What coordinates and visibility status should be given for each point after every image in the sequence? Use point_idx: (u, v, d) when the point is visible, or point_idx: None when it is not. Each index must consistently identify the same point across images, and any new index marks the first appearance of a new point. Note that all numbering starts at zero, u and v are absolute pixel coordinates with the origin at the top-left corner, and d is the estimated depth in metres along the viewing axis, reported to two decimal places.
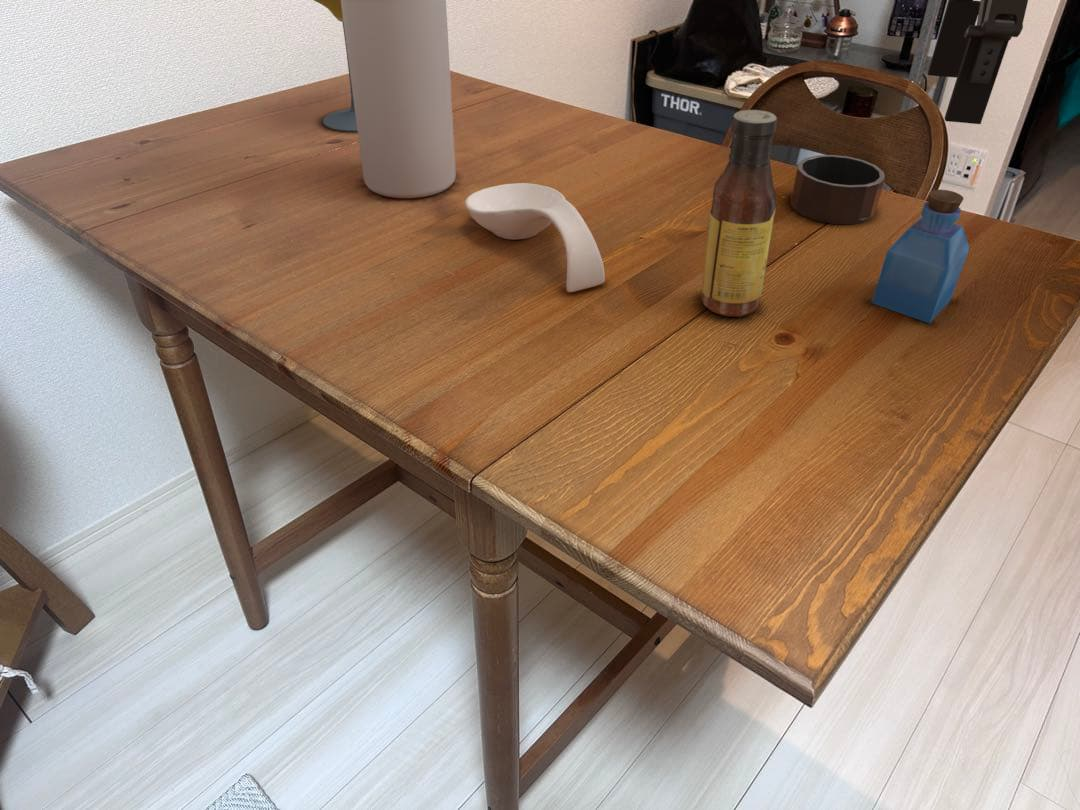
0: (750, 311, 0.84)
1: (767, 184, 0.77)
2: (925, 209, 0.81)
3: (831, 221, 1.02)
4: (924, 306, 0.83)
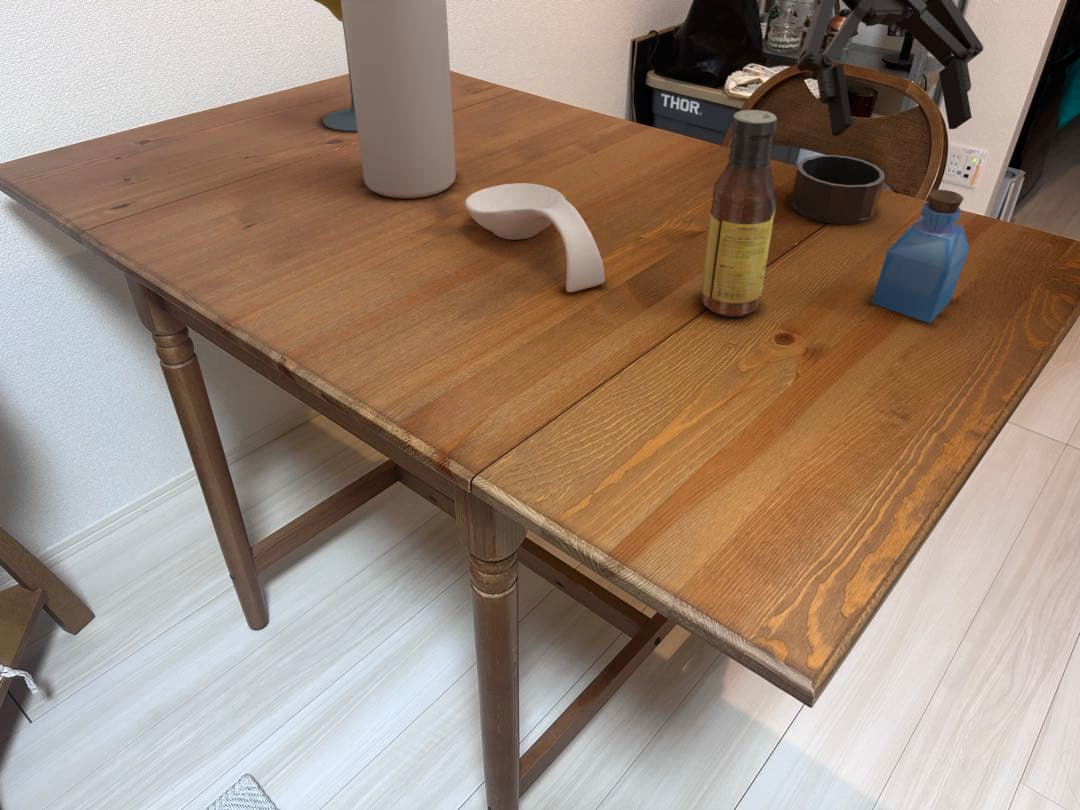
0: (750, 311, 0.84)
1: (767, 184, 0.77)
2: (925, 210, 0.81)
3: (831, 221, 1.02)
4: (924, 306, 0.83)
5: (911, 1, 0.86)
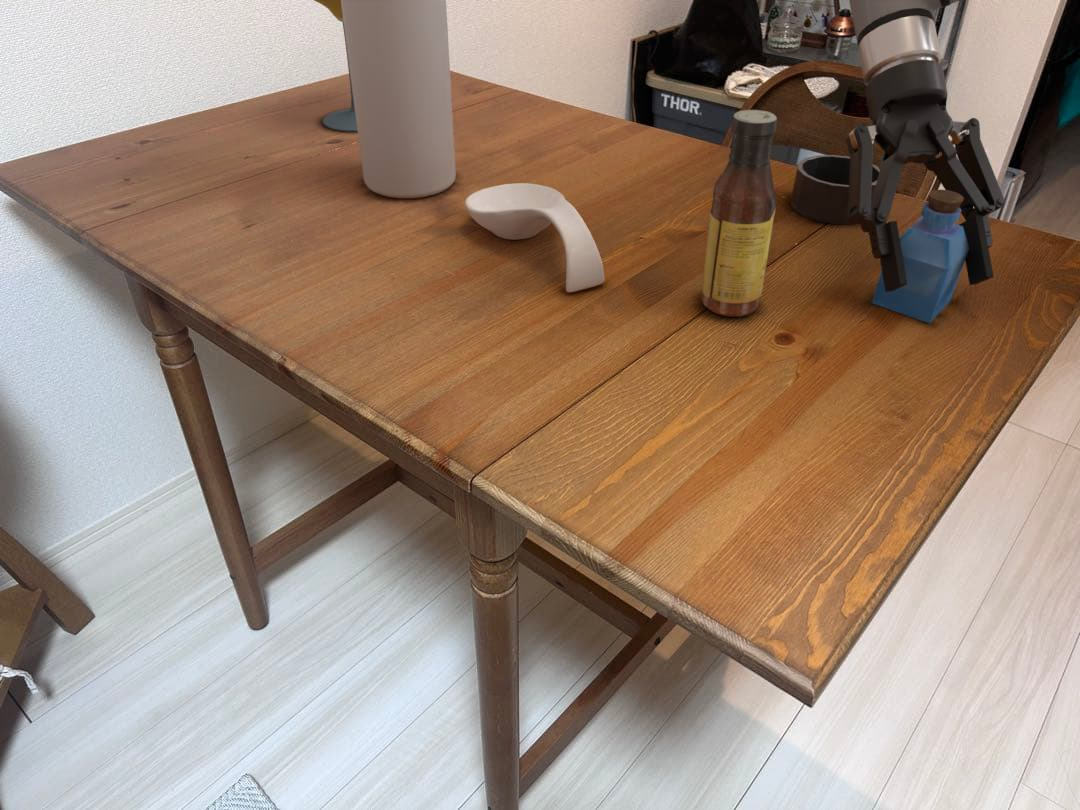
0: (750, 311, 0.84)
1: (767, 184, 0.77)
2: (926, 209, 0.81)
3: (831, 221, 1.02)
4: (924, 306, 0.83)
5: (946, 142, 0.83)
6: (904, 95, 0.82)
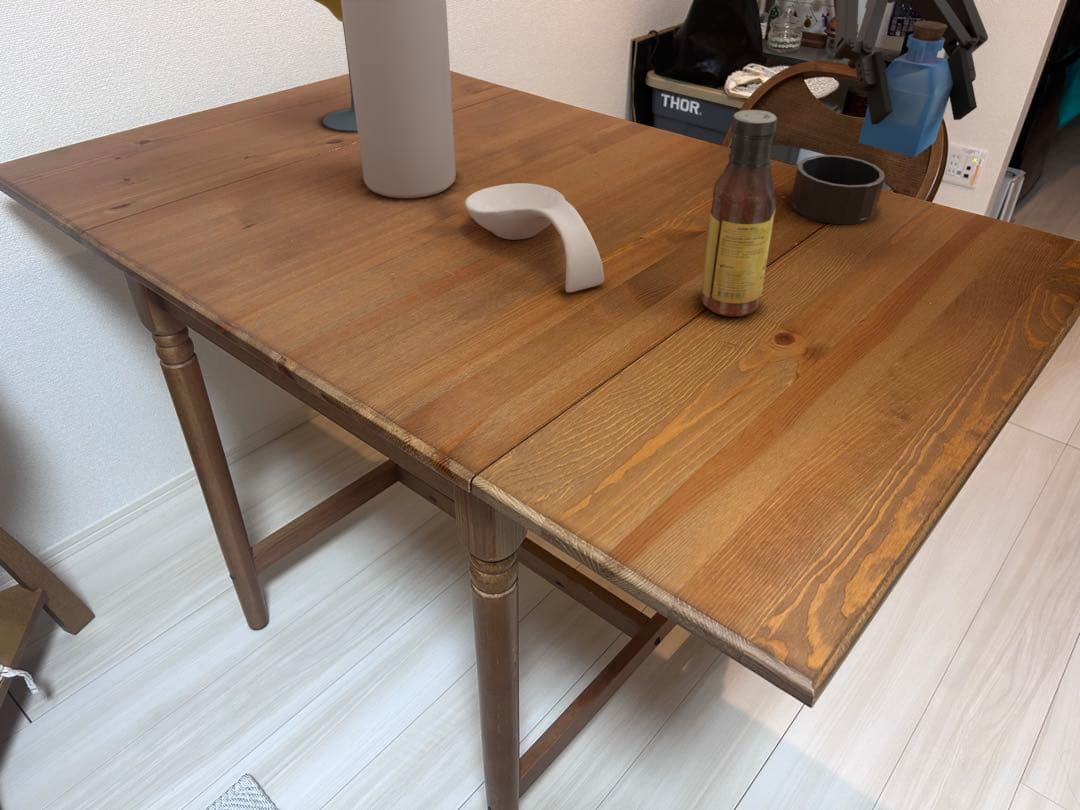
0: (750, 311, 0.84)
1: (767, 184, 0.77)
2: (910, 39, 0.83)
3: (831, 221, 1.02)
4: (909, 139, 0.85)
5: None
6: None
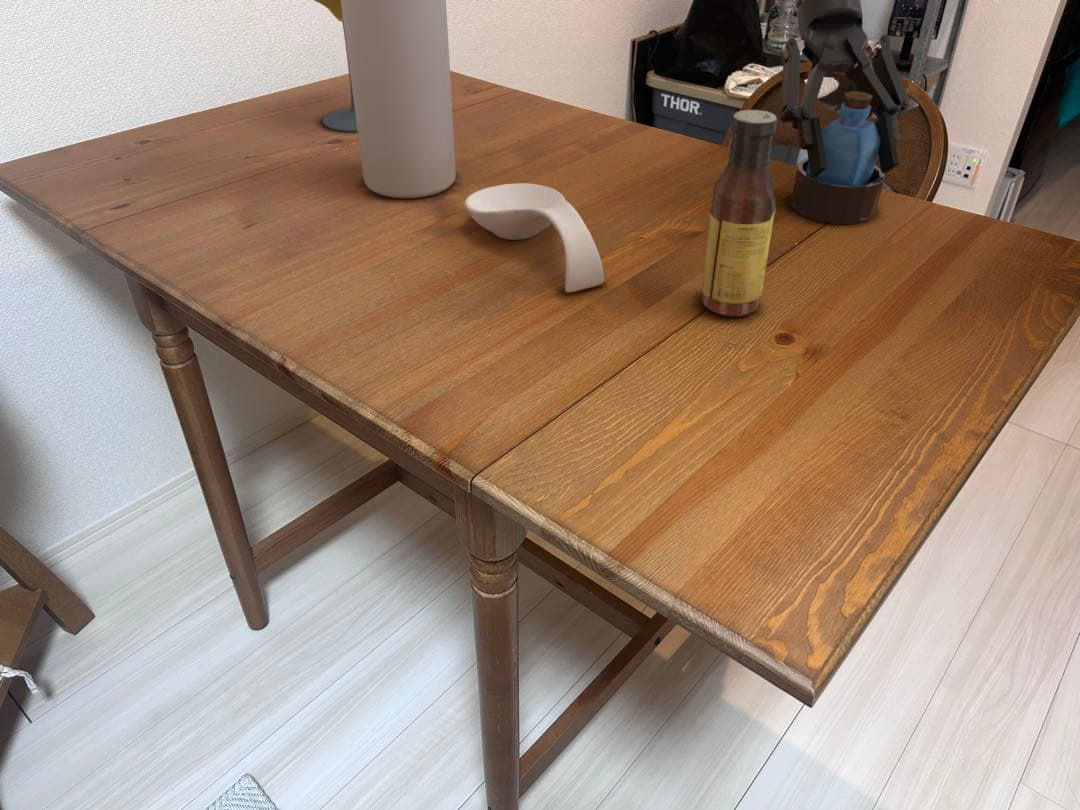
0: (750, 311, 0.84)
1: (767, 185, 0.77)
2: (842, 107, 0.98)
3: (831, 221, 1.02)
4: None
5: (861, 53, 1.01)
6: (825, 14, 0.99)
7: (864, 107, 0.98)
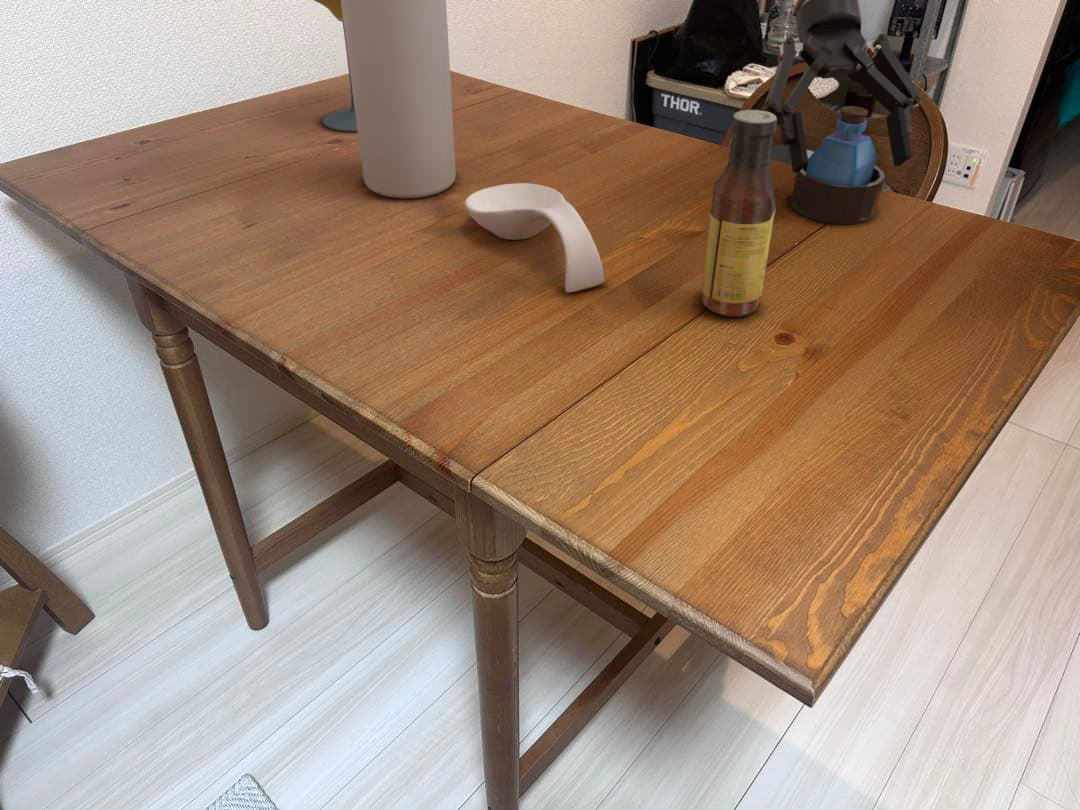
0: (750, 311, 0.84)
1: (767, 185, 0.77)
2: (838, 122, 1.00)
3: (831, 221, 1.02)
4: None
5: (859, 58, 1.01)
6: (824, 19, 1.00)
7: (860, 122, 0.99)
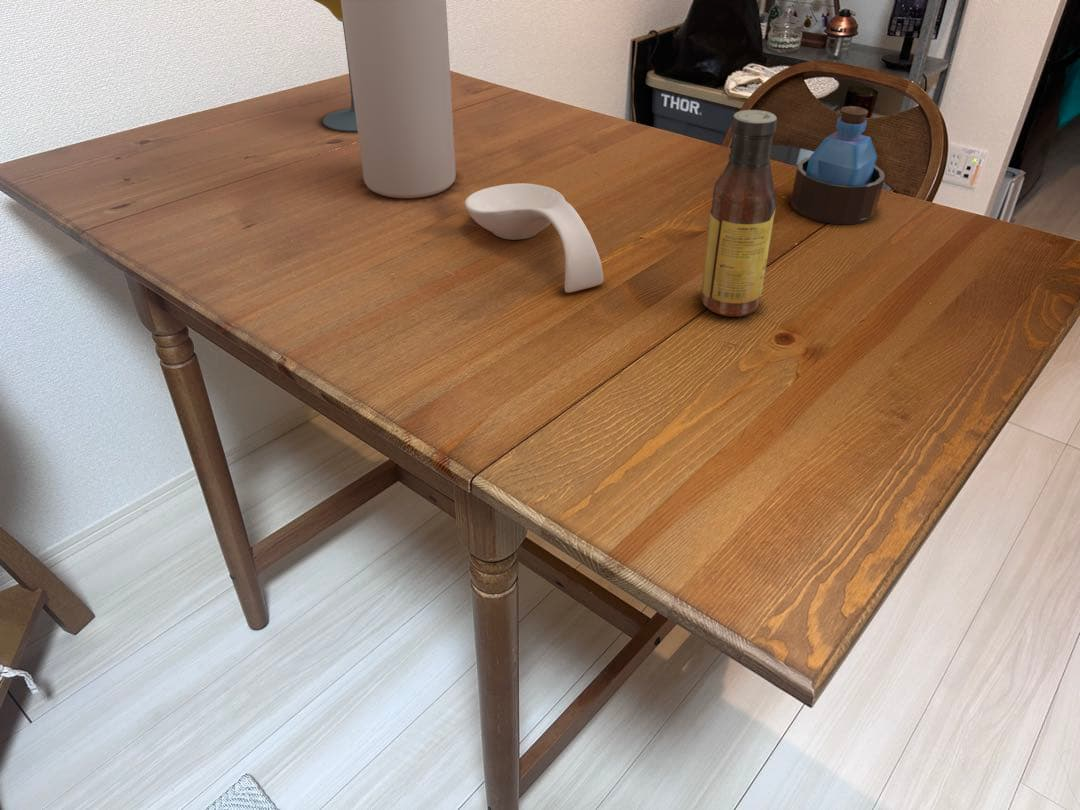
0: (750, 311, 0.84)
1: (767, 184, 0.77)
2: (838, 122, 1.00)
3: (831, 221, 1.02)
4: None
5: None
6: None
7: (860, 122, 0.99)
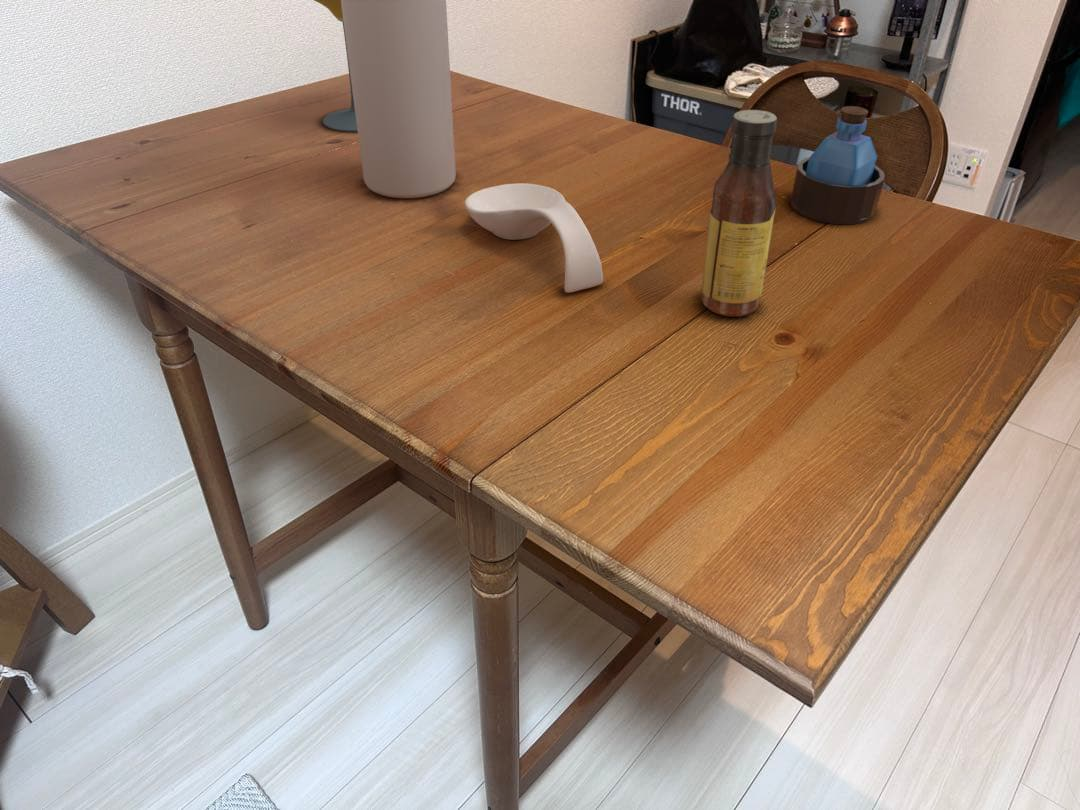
0: (750, 311, 0.84)
1: (767, 184, 0.77)
2: (838, 122, 1.00)
3: (831, 221, 1.02)
4: None
5: None
6: None
7: (860, 122, 0.99)
